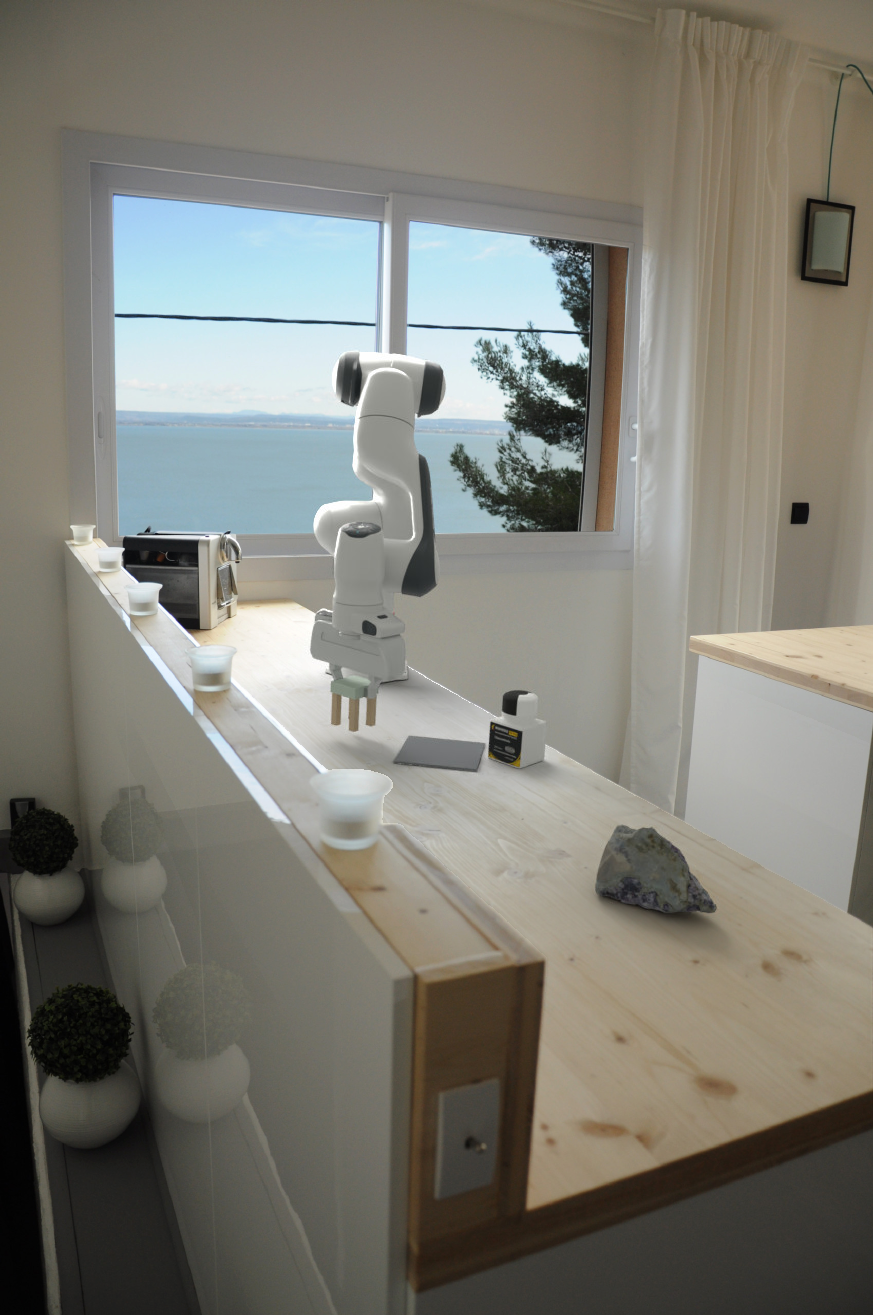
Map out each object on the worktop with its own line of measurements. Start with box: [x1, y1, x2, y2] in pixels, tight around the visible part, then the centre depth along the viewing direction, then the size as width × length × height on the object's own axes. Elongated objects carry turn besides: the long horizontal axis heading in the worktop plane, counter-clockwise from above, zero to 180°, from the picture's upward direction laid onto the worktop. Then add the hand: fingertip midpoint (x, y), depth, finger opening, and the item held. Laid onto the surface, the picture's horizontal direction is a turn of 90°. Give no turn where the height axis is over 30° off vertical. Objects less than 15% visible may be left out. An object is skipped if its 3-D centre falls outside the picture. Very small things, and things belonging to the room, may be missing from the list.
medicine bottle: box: [487, 689, 548, 769], centre depth 163 cm, size 7×7×12 cm
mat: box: [393, 735, 486, 772], centre depth 165 cm, size 14×14×1 cm
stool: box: [330, 675, 380, 733], centre depth 169 cm, size 6×6×8 cm
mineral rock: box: [594, 824, 718, 914], centre depth 114 cm, size 13×11×10 cm
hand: (354, 693), depth 168 cm, fingers closed on stool, 6 cm apart
